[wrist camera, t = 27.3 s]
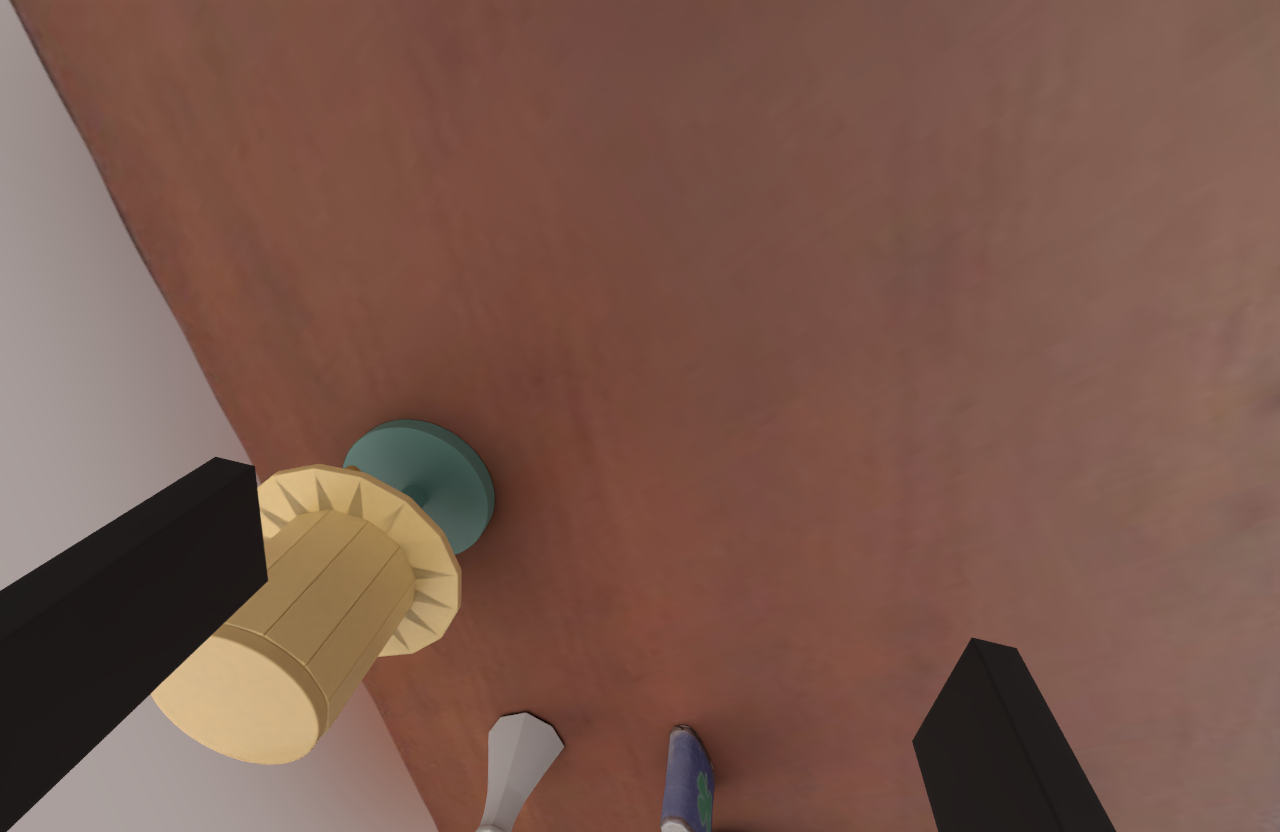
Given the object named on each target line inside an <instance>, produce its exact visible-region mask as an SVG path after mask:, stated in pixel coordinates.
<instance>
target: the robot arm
mask: <svg viewBox="0 0 1280 832" xmlns="http://www.w3.org/2000/svg"><path fill="white" fill-rule="evenodd" d="M267 582H268V574H267V566H266V557H265V549H264V540H263V532H262V523H261V515H260V507H259V498H258V490H257V482H256V473H255V466H252V465H248V464H243V463H239V462H235V461H231V460H227V459H222V458H218V457H215V458H213V459H211V460H210V461H208V462H206V463H205V464H203V465H202V466H200V467H199V468H197V469H195V470H194V471H192V472H190V473H189V474H187V475H186V476H184V477H182V478H181V479H179V480H177V481H176V482H174V483H173V484H171V485H169V486H168V487H166V488H165V489H163V490H161V491H160V492H158V493H157V494H155V495H153V496H152V497H151V498H149V499H147V500H145V501H144V502H143V503H141V504H139V505H137V506H136V507H134V508H133V509H131V510H129V511H128V512H126V513H125V514H123V515H121V516H120V517H118V518H117V519H115V520H114V521H112V522H110V523H109V524H107V525H106V526H104V527H102V528H100V529H99V530H97V531H96V532H94V533H92V534H91V535H89V536H88V537H86V538H84V539H83V540H81V541H80V542H78V543H76V544H75V545H73V546H72V547H70V548H68V549H67V550H65V551H64V552H62V553H60V554H59V555H57V556H55V557H54V558H52V559H51V560H49V561H47V562H46V563H44V564H43V565H41V566H39V567H38V568H36V569H35V570H33V571H31V572H30V573H28V574H27V575H25V576H23V577H22V578H20V579H19V580H17V581H15V582H14V583H12V584H11V585H9V586H7V587H6V588H4V589H3V590H1V591H0V832H7V831H8V830H9V829H10V828H11V827H12V826H13V825H14V824H15V823H16V822H17V821H18V820H19V819H20V818H21V817H22V816H23V815H24V814H25V813H27V812H28V811H29V810H30V809H31V808H32V807H33V806H34V805H35V804H36V803H37V802H38V801H39V800H40V799H41V798H42V797H43V796H44V795H45V794H46V793H47V792H49V790H51V789H52V788H53V787H54V786H55V785H56V784H57V783H58V782H59V781H60V780H61V779H62V778H63V777H64V776H65V775H66V774H67V773H68V772H69V771H70V770H71V769H72V768H74V767H75V766H76V765H77V764H78V763H79V762H80V761H81V760H82V759H83V758H84V757H85V756H86V755H87V754H88V753H89V752H90V751H91V750H92V749H93V748H94V747H95V746H96V745H97V744H99V743H100V742H101V741H102V740H103V739H104V738H105V737H106V736H107V735H108V734H109V733H110V732H111V731H112V730H113V729H114V728H115V727H116V726H117V725H118V724H119V723H120V722H122V720H123V719H125V718H126V717H127V716H128V715H129V714H130V713H131V712H132V711H133V710H134V709H135V708H136V707H137V706H138V705H139V704H140V703H141V702H142V701H143V700H144V699H146V698H147V697H148V696H149V695H150V694H151V693H152V692H153V691H154V690H155V689H156V688H157V687H158V686H159V685H160V684H161V683H162V682H163V681H164V680H165V679H166V678H167V677H169V676H170V675H171V674H172V673H173V672H174V671H175V670H176V669H177V668H178V667H179V666H180V665H181V664H182V663H183V662H184V661H185V660H186V659H187V658H188V657H189V656H190V655H191V654H193V653H194V652H195V651H196V650H197V649H198V648H199V647H200V646H201V645H202V644H203V643H204V642H205V641H206V640H207V639H208V638H209V637H210V636H211V635H212V634H213V633H214V632H215V631H217V630H218V629H219V628H220V627H221V626H222V625H223V624H224V623H225V622H226V621H227V620H228V619H229V618H230V617H231V616H232V615H233V614H234V613H235V612H236V611H237V610H238V609H239V608H241V607H242V606H243V605H244V604H245V603H246V602H247V601H248V600H249V599H250V598H251V597H252V596H253V595H254V594H255V593H256V592H257V591H258V590H259V589H260V588H261V587H262V586H263V585H265V584H266V583H267ZM912 742H913V746H914V749H915V753H916V756H917V759H918V763H919V766H920V770H921V773H922V777H923V780H924V784H925V787H926V791H927V794H928V797H929V801H930V804H931V808H932V811H933V815H934V818H935V822H936V825H937V829H938V832H1116V830H1115V829H1114V827H1113V825H1112V823H1111V821H1110V819H1109V818H1108V816H1107V814H1106V812H1105V810H1104V808H1103V806H1102V805H1101V803H1100V801H1099V799H1098V797H1097V795H1096V794H1095V792H1094V790H1093V788H1092V786H1091V784H1090V783H1089V781H1088V779H1087V777H1086V775H1085V773H1084V772H1083V770H1082V768H1081V766H1080V764H1079V762H1078V760H1077V759H1076V757H1075V755H1074V753H1073V751H1072V749H1071V748H1070V746H1069V744H1068V742H1067V740H1066V738H1065V737H1064V735H1063V733H1062V731H1061V729H1060V727H1059V726H1058V724H1057V722H1056V720H1055V718H1054V716H1053V714H1052V713H1051V711H1050V709H1049V707H1048V705H1047V703H1046V702H1045V700H1044V698H1043V696H1042V694H1041V692H1040V691H1039V689H1038V687H1037V685H1036V683H1035V681H1034V680H1033V678H1032V676H1031V674H1030V672H1029V670H1028V668H1027V667H1026V665H1025V663H1024V661H1023V659H1022V657H1021V656H1020V654H1019V652H1018V650H1017V648H1013V647H1009V646H1005V645H1001V644H997V643H992V642H988V641H984V640H980V639H976V638H971V640H970V642H969V643H968V645H967V647H966V649H965V650H964V652H963V654H962V656H961V657H960V659H959V661H958V662H957V664H956V666H955V668H954V669H953V671H952V673H951V675H950V676H949V678H948V680H947V682H946V683H945V685H944V687H943V689H942V690H941V692H940V694H939V695H938V697H937V699H936V701H935V702H934V704H933V706H932V708H931V709H930V711H929V713H928V715H927V716H926V718H925V720H924V722H923V723H922V725H921V727H920V728H919V730H918V732H917V734H916V735H915V737H914V739H913V741H912Z"/></svg>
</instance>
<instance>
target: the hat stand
mask: <svg viewBox="0 0 1280 832" xmlns="http://www.w3.org/2000/svg"><path fill="white" fill-rule="evenodd" d="M343 468H344V469H349V470H354V471H359V472H364V473H367V474H369V475H371V476H373V477H375V478H377V479H378V480H380V481H382V482H384V483H386V484H388V485H389V486H391V487H393V488H395V489H397V490H398V491H400V492H402V493H404V494H406V495H408V496H409V497H410V498H412V499H413V500H414V501H415V502H416V503H417V504H418V505H419V506H420V508H421V509H422V510H423V511H424V512H425V513H426V514H427V515H428V516H429V517H430V518H431V519H432V520H433V521H434V522H435V523H436V524H437V525H438V526H439V527H440V528H441V529H442V530H443V531H444V533H445V535H446V537H447V539H448V541H449V544H450V546H451V548H452V550H453V552H454V554H455V555H456V554H459V553H461V552H463V551H465V550H466V549H468V548H469V547H471V546H472V545H473V544H474V543H475V542H476V541H477V540H478V539H479V537H480V536H481V534H482V533H483V531H484V530H485V528H486V527H487V525H488V523H489V521H490V519H491V517H492V514H493V510H494V503H495V497H494V488H493V483H492V480H491V477H490V475H489V473H488V470H487V468H486V466H485V465H484V463H483V462H482V460H481V459H480V457H479V456H478V455H477V454H476V452H475V451H474V450H473V449H472V448H471V447H470V446H469V445H468V444H467V443H466V442H464V441H463V440H462V439H461V438H459V437H458V436H456V435H455V434H453V433H452V432H450V431H448V430H446V429H444V428H442V427H440V426H437V425H435V424H432V423H428V422H424V421H419V420H410V419H402V420H394V421H390V422H386V423H383V424H381V425H378V426H376V427H375V428H373V429H372V430H370V431H369V432H368V433H366V434H365V435H364V436H363V437H361V438H360V439H359V440H358V441H357V442H356V443H355V444H354V445H353V446H352V448H351V449H350V450H349V452H348V454H347V456H346V458H345V461H344V465H343Z"/></svg>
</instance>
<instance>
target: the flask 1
mask: <svg viewBox="0 0 1280 832" xmlns="http://www.w3.org/2000/svg"><path fill="white" fill-rule="evenodd" d="M488 747H489V768H488V795H487V800H486V805H485V810H484V815H483V818H482V821H481V824H480V826H479V828H478V829H477V830H476V831H475V832H511V831H512V828H513V825H514V822H515V820H516V818H517V816H518V814H519V812H520V810H521V808H522V806H523V804H524V802H525V800H526V799H527V798H528V796H529V795H530V793H531V792H532V790H533V789H534V788H535V786H536V785H537V783H538V782H539V780H540V779H541V778H542V776H543V775H544V773H545V772H546V771H547V769H548V768H549V767H550V765H551V764H552V763H553V761H554V760H555V759H556V757H557V756H558V755H559V753H560V752H561V751H562V749H563V748H564V745H563V744H562V742H561V740H560V739H559V737H558V735H557V734H556V732H555V731H554V729H553V727H552V726H550V725H548V724H546V723H545V722H543V721H541V720H539V719H537V718H535V717H533V716H531V715H530V714H528V713H521V714H515V715H510V716H504V717H500V719H499V720H498V721H497V722H496V724H495V725H494V726H493V728H492V729H491V730H490V732H489V741H488Z"/></svg>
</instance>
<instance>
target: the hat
mask: <svg viewBox="0 0 1280 832" xmlns="http://www.w3.org/2000/svg"><path fill="white" fill-rule="evenodd" d="M257 490H258V498H259V507H260V515H261V523H262V532H263V540H264V549H265V557H266V566H267V574H268V582H267V583H266V584H265V585H263V586H262V587H261V588H260V589H259V590H258V591H257V592H256V593H255V594H254V595H253V596H252V597H251V598H250V599H249V600H248V601H247V602H246V603H245V604H244V605H243V606H242V607H241V608H239V609H238V610H237V611H236V612H235V613H234V614H233V615H232V616H231V617H230V618H229V619H228V620H227V621H226V622H225V623H224V624H223V625H222V626H221V627H220V628H219V629H218V630H217V631H215V632H214V633H213V634H212V635H211V636H210V637H209V638H208V639H207V640H206V641H205V642H204V643H203V644H202V645H201V646H200V647H199V648H198V649H197V650H196V651H195V652H194V653H193V654H191V655H190V656H189V657H188V658H187V659H186V660H185V661H184V662H183V663H182V664H181V665H180V666H179V667H178V668H177V669H176V670H175V671H174V672H173V673H172V674H171V675H170V676H169V677H167V678H166V679H165V680H164V681H163V682H162V683H161V684H160V685H159V686H158V687H157V688H156V689H155V690H154V691H153V692H152V693H151V696H152V697H153V699H154V701H155V702H156V704H157V705H158V706H159V708H160V709H161V710H162V712H163V713H164V714H165V715H166V716H167V717H168V718H169V719H170V720H171V721H172V722H173V723H174V724H175V725H176V726H177V727H179V728H180V729H181V730H182V731H183V732H185V733H186V734H188V735H189V736H190V737H192V738H193V739H195V740H196V741H198V742H199V743H201V744H203V745H204V746H206V747H208V748H210V749H212V750H214V751H217V752H219V753H221V754H223V755H226V756H229V757H232V758H234V759H238V760H242V761H246V762H251V763H257V764H284V763H288V762H292V761H295V760H298V759H300V758H302V757H303V756H305V755H306V754H308V753H309V752H310V751H311V750H312V749H313V747H314V746H315V744H316V743H317V741H318V740H319V738H320V737H321V736H323V735H324V734H325V733H326V732H327V731H328V730H329V728H330V727H331V725H332V724H333V723H334V721H335V720H336V718H337V717H338V715H339V714H340V712H341V710H342V709H343V708H344V706H345V704H346V703H347V702H348V700H349V699H350V697H351V695H352V694H353V693H354V691H355V690H356V688H357V687H358V685H359V684H360V682H361V681H362V679H363V678H364V676H365V675H366V673H367V672H368V670H369V669H370V667H371V666H372V664H373V663H374V661H375V660H376V658H377V657H381V656H391V655H402V654H412V653H415V652H416V651H418V650H420V649H422V648H424V647H426V646H427V645H429V644H431V643H433V642H435V641H436V640H438V639H440V638H442V637H443V635H444V633H445V632H446V630H447V628H448V627H449V625H450V623H451V622H452V620H453V618H454V617H455V615H456V613H457V612H458V610H459V608H460V607H461V568H460V565H459V563H458V561H457V559H456V557H455V554H454V552H453V550H452V548H451V546H450V544H449V541H448V539H447V537H446V535H445V533H444V531H443V530H442V529H441V528H440V527H439V526H438V525H437V524H436V523H435V522H434V521H433V520H432V519H431V518H430V517H429V516H428V515H427V514H426V513H425V512H424V511H423V510H422V509H421V508H420V506H419V505H418V504H417V503H416V502H415V501H414V500H413V499H412V498H410V497H409V496H408V495H406V494H404V493H402V492H400V491H398V490H397V489H395V488H393V487H391V486H389V485H388V484H386V483H384V482H382V481H380V480H378V479H377V478H375V477H373V476H371V475H369V474H367V473H364V472H359V471H354V470H349V469H344V468H339V467H334V466H329V465H324V464H315V465H309V466H304V467H298V468H293V469H288V470H282V471H278V472H276V473H275V474H274V475H272V476H271V477H270V478H269V479H268V480H266V481H265V482H264V483H263V484H261V485H260V486H259V487H258V488H257Z"/></svg>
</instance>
